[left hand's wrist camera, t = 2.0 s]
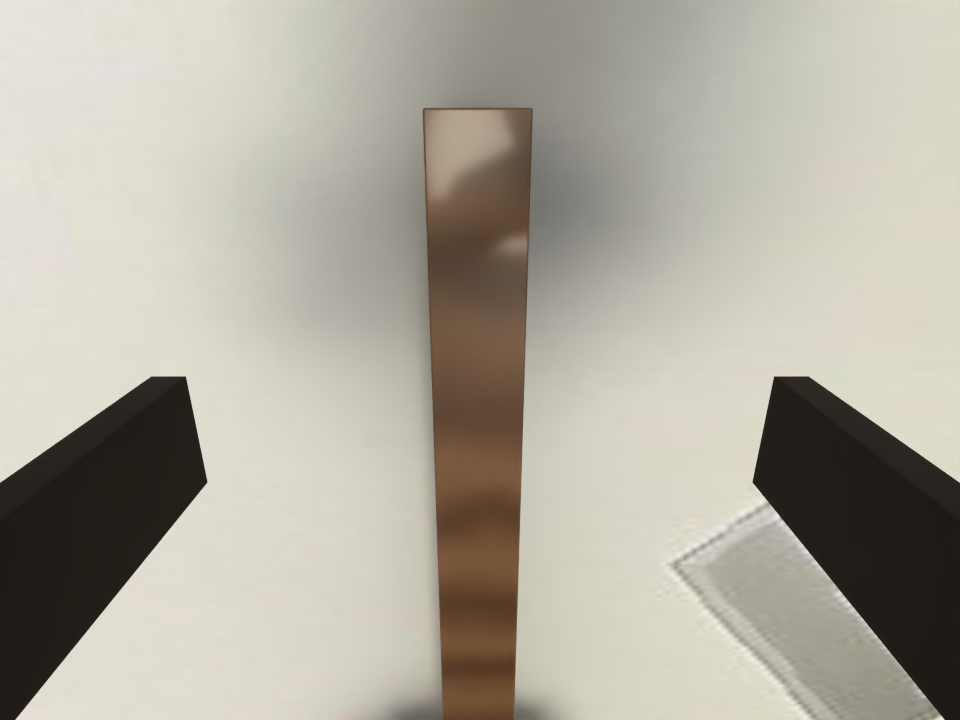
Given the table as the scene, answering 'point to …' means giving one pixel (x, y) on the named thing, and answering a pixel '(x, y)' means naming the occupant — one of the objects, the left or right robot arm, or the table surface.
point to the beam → (478, 391)
